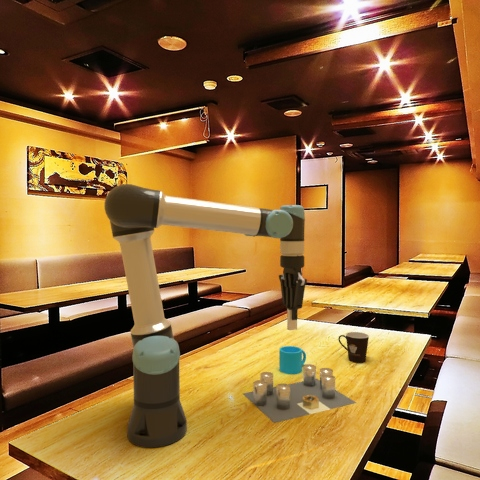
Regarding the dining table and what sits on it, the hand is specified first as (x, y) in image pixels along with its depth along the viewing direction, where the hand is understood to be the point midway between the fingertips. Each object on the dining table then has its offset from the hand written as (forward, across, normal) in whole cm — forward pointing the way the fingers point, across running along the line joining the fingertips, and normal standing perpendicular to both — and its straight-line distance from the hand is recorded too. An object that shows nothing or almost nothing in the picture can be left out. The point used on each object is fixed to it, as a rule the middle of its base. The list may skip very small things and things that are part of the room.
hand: (292, 329), depth 124 cm
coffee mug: (+21, +16, -39) cm, 47 cm away
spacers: (+20, -3, +1) cm, 20 cm away
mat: (+20, -5, +1) cm, 21 cm away
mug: (+21, +16, -11) cm, 28 cm away
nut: (+20, -11, 0) cm, 22 cm away
